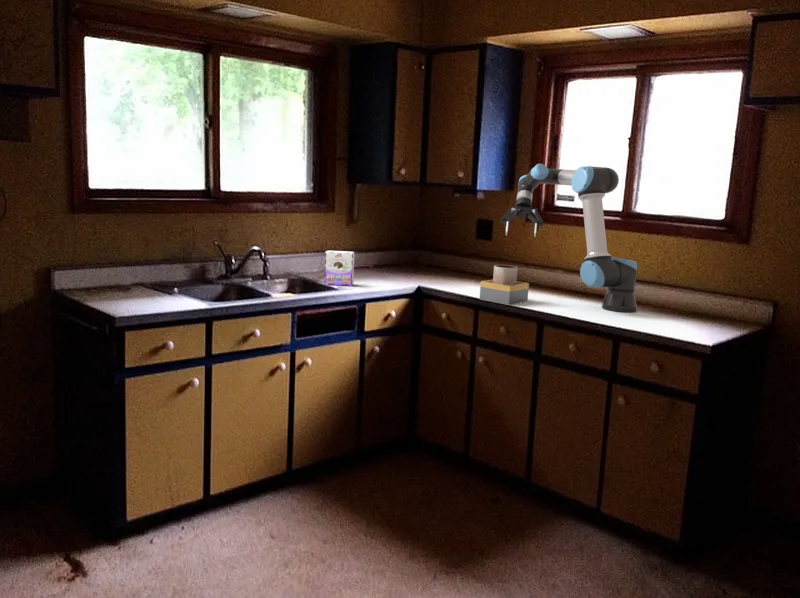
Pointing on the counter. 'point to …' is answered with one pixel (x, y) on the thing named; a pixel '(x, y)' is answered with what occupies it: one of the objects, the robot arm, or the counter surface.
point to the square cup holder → (504, 292)
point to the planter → (505, 275)
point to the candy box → (339, 268)
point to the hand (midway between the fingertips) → (520, 234)
